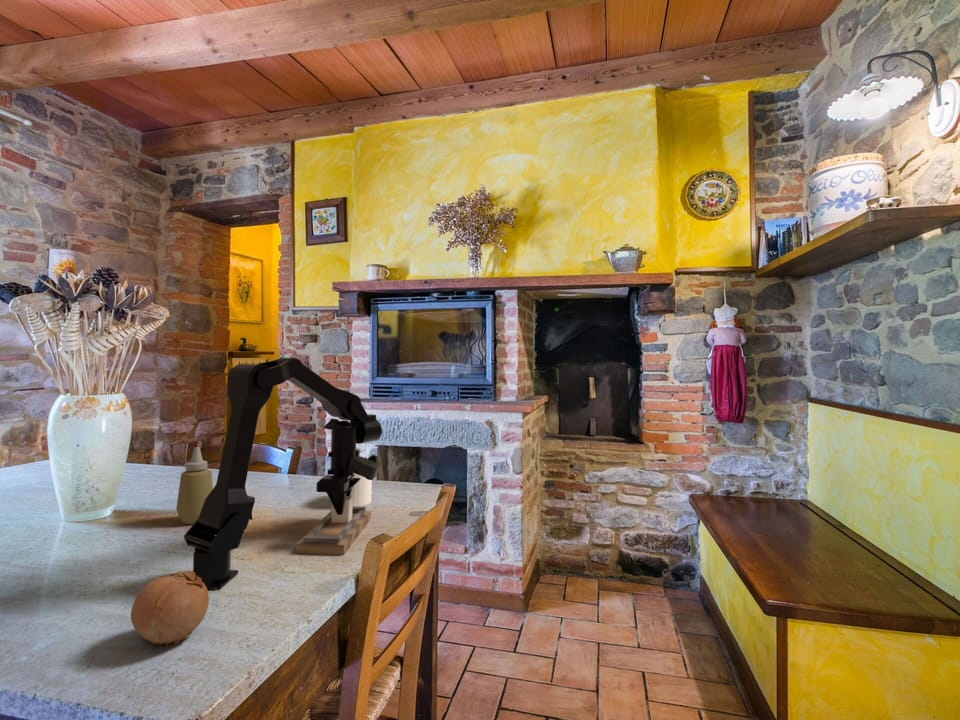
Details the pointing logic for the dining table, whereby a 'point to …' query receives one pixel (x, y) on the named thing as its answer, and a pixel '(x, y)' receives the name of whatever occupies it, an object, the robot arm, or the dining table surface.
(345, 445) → the robot arm
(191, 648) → the dining table surface
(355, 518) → the brown wooden tray
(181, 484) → the squeeze bottle
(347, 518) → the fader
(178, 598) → the onion
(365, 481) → the mug
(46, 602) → the dining table surface
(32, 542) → the dining table surface
